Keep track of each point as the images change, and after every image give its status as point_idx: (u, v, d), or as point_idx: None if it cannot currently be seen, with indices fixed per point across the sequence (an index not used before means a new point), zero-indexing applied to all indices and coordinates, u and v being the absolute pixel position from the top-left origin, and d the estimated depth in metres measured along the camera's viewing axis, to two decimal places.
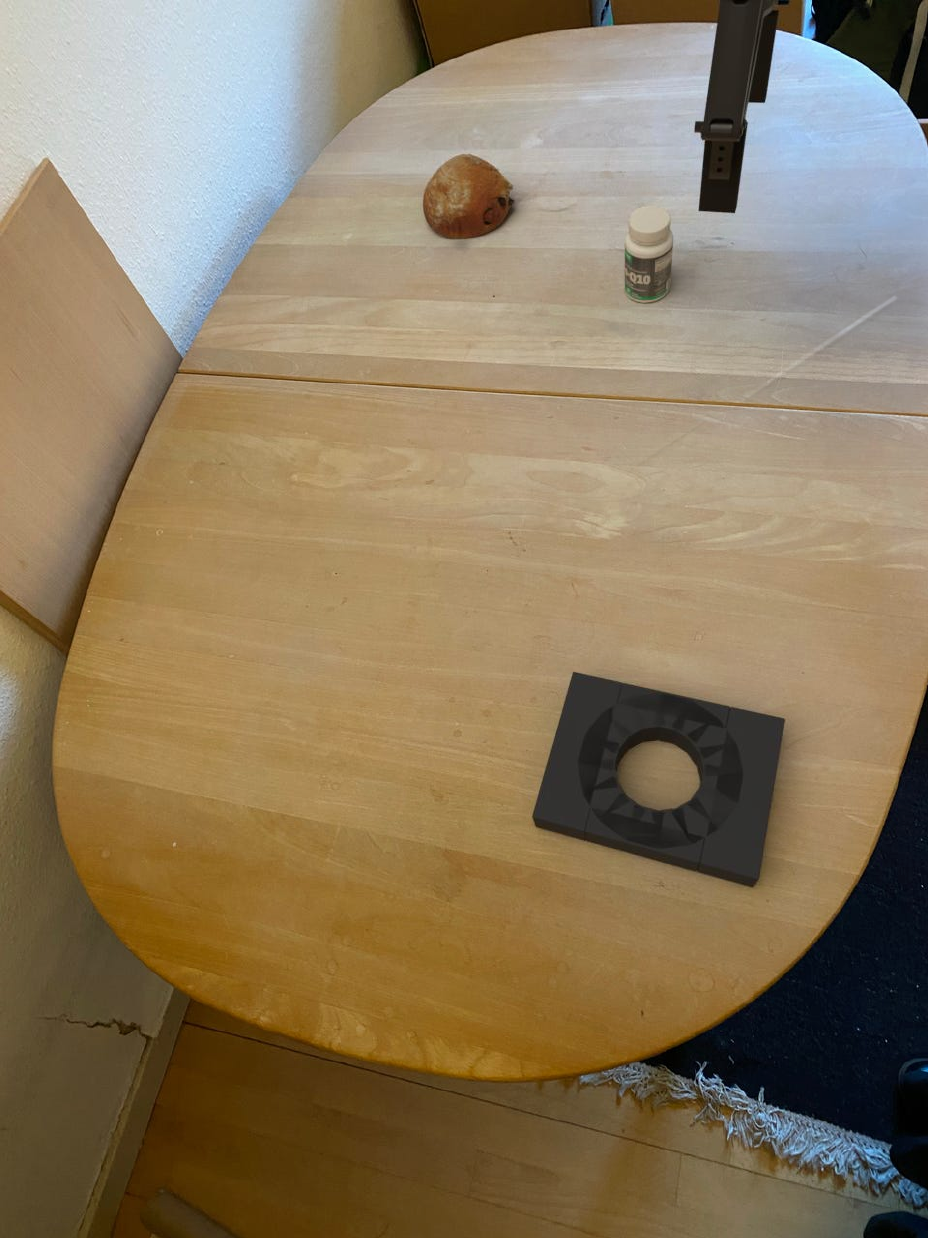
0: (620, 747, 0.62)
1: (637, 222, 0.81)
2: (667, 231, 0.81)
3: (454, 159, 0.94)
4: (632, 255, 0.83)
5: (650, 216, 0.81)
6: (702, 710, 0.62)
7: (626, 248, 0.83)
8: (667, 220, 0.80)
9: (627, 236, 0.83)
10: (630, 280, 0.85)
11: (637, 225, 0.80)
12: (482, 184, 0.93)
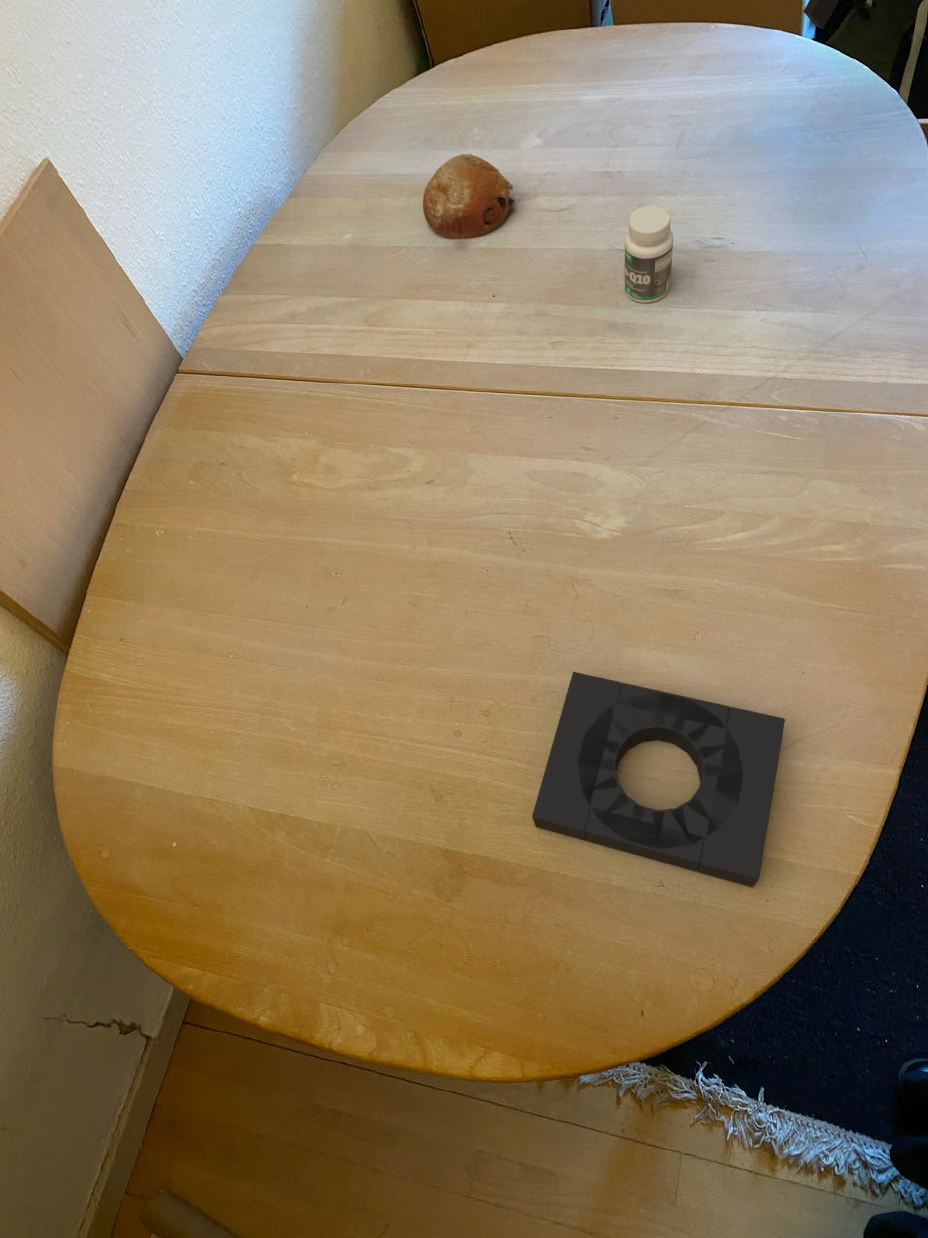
0: (620, 747, 0.62)
1: (637, 221, 0.81)
2: (667, 231, 0.81)
3: (454, 159, 0.94)
4: (632, 255, 0.83)
5: (650, 216, 0.81)
6: (702, 710, 0.62)
7: (626, 248, 0.83)
8: (667, 220, 0.80)
9: (627, 236, 0.83)
10: (630, 280, 0.85)
11: (637, 225, 0.80)
12: (482, 184, 0.93)
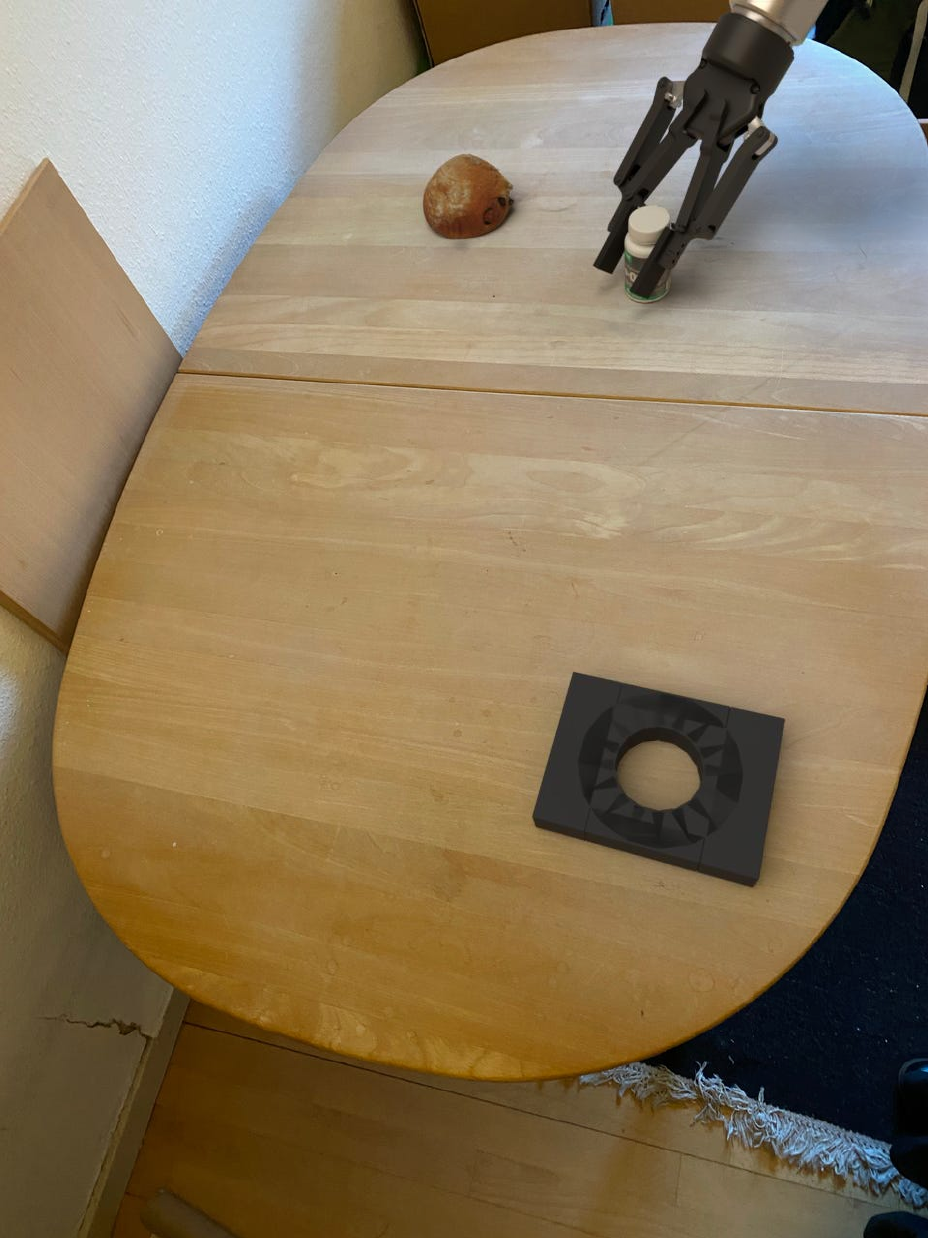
0: (620, 747, 0.62)
1: (637, 221, 0.81)
2: None
3: (454, 159, 0.94)
4: (631, 254, 0.83)
5: (650, 216, 0.81)
6: (702, 710, 0.62)
7: (626, 248, 0.83)
8: (667, 220, 0.80)
9: (627, 236, 0.83)
10: (630, 280, 0.85)
11: (637, 225, 0.80)
12: (482, 184, 0.93)
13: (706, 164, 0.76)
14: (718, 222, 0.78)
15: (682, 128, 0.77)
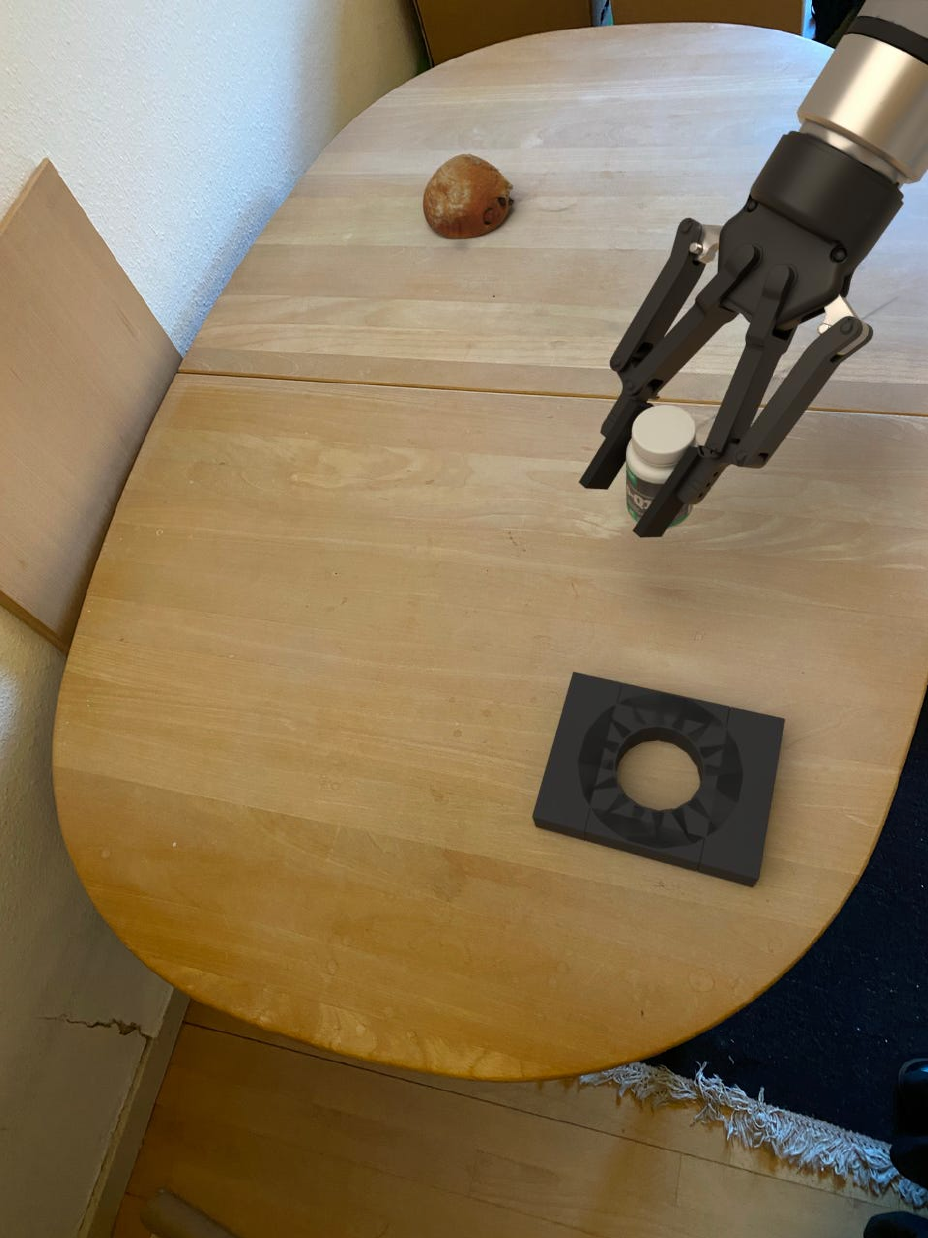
0: (620, 747, 0.62)
1: (645, 433, 0.53)
2: None
3: (454, 159, 0.94)
4: (636, 476, 0.55)
5: (665, 424, 0.53)
6: (702, 710, 0.62)
7: (628, 465, 0.55)
8: (691, 433, 0.52)
9: (630, 447, 0.55)
10: (635, 503, 0.57)
11: (645, 440, 0.52)
12: (482, 184, 0.93)
13: (755, 362, 0.48)
14: (772, 447, 0.50)
15: (717, 302, 0.49)
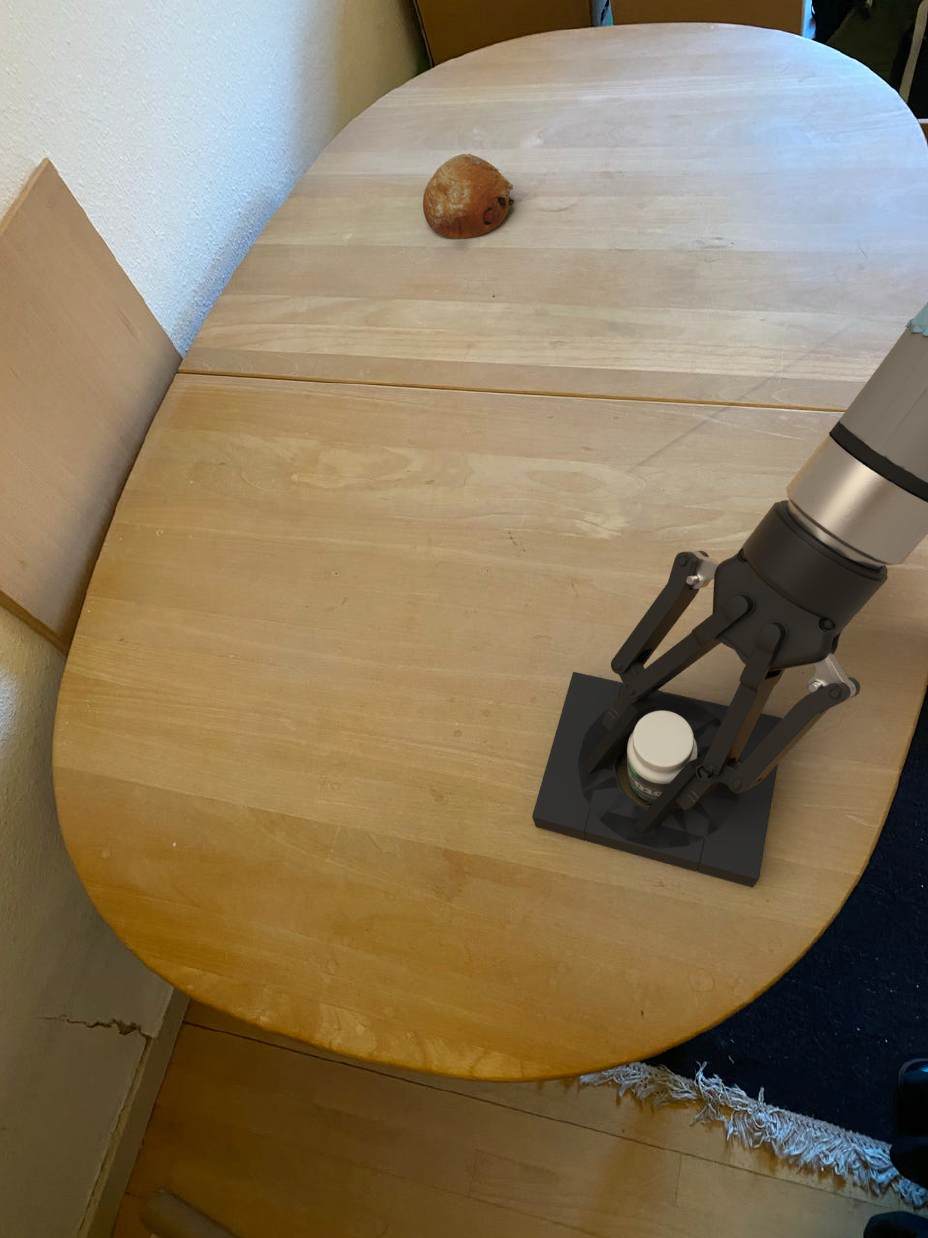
0: None
1: (645, 742, 0.55)
2: (689, 757, 0.55)
3: (454, 159, 0.94)
4: (637, 773, 0.57)
5: (664, 733, 0.56)
6: (702, 710, 0.62)
7: (629, 761, 0.58)
8: (689, 745, 0.55)
9: (631, 744, 0.58)
10: (636, 785, 0.60)
11: (645, 750, 0.55)
12: (482, 184, 0.93)
13: (749, 702, 0.51)
14: (766, 773, 0.52)
15: (713, 639, 0.52)
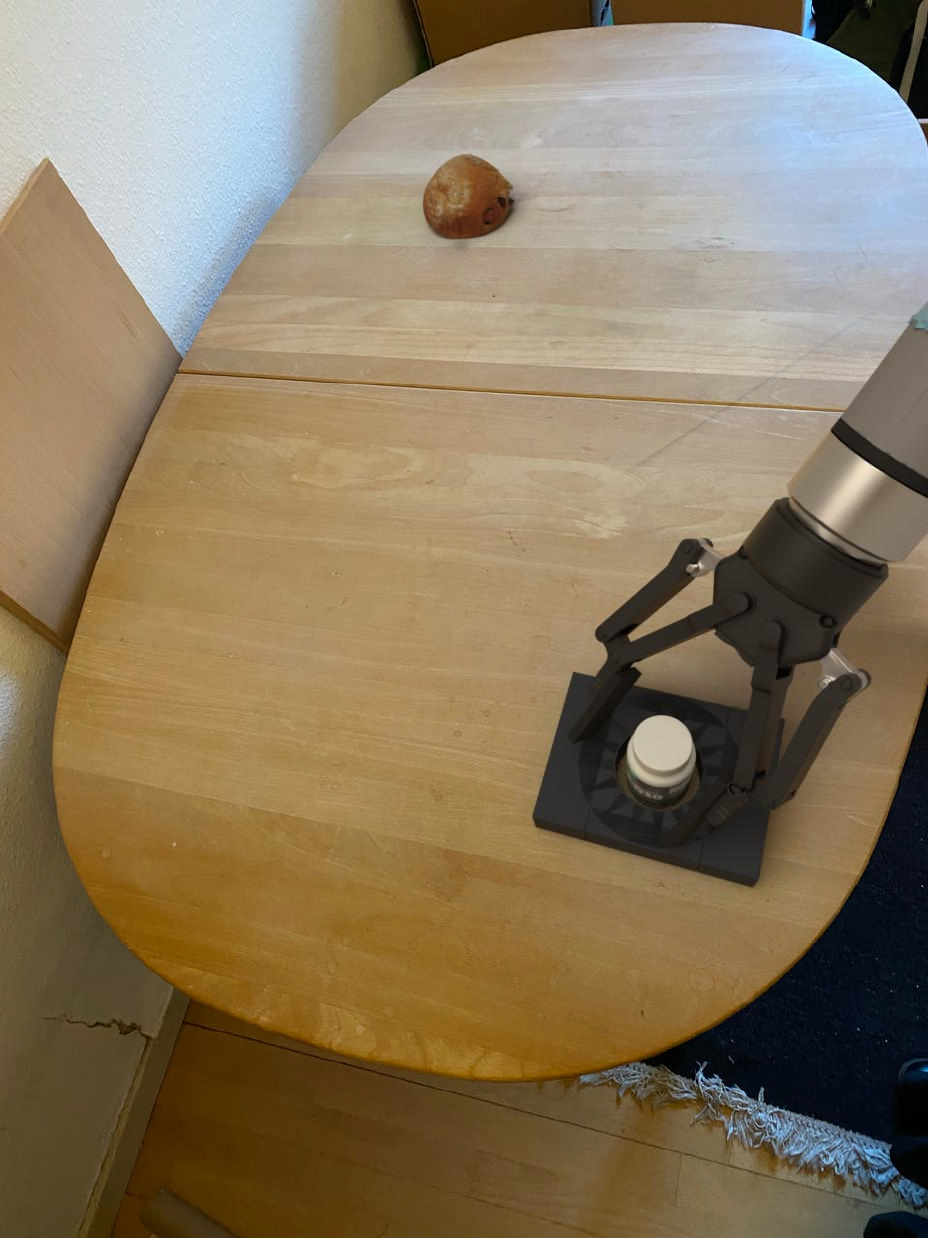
0: (620, 747, 0.62)
1: (645, 746, 0.56)
2: (688, 761, 0.56)
3: (454, 159, 0.94)
4: (637, 777, 0.58)
5: (663, 738, 0.56)
6: (702, 710, 0.62)
7: (629, 765, 0.59)
8: (688, 750, 0.56)
9: (630, 748, 0.59)
10: (635, 789, 0.61)
11: (645, 754, 0.56)
12: (482, 184, 0.93)
13: (766, 706, 0.50)
14: (798, 784, 0.51)
15: (706, 628, 0.52)
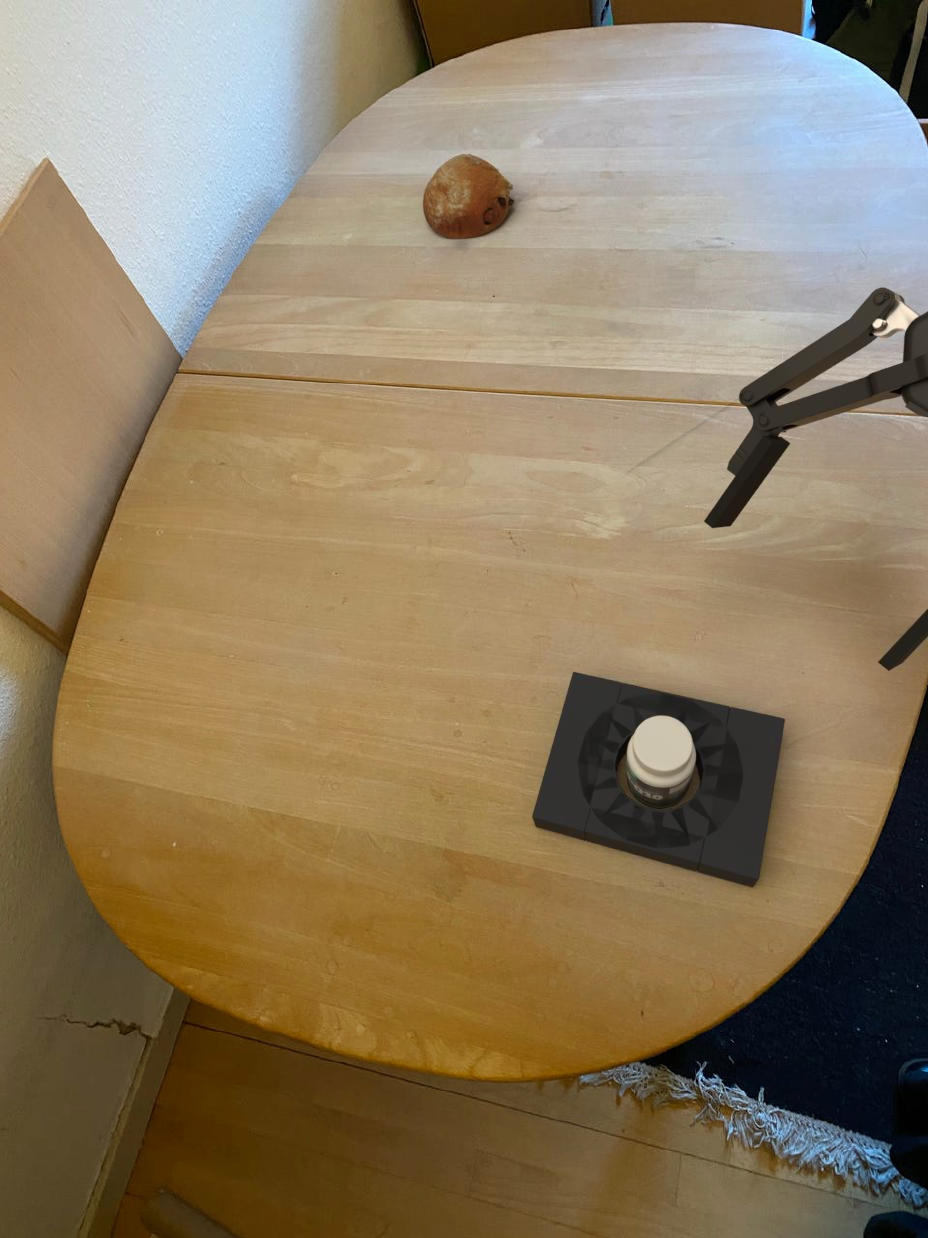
0: (620, 747, 0.62)
1: (645, 747, 0.56)
2: (688, 762, 0.56)
3: (454, 159, 0.94)
4: (637, 777, 0.58)
5: (663, 738, 0.56)
6: (702, 710, 0.62)
7: (629, 765, 0.59)
8: (688, 750, 0.56)
9: (630, 748, 0.58)
10: (635, 789, 0.61)
11: (645, 755, 0.56)
12: (482, 184, 0.93)
13: None
14: None
15: (890, 390, 0.46)
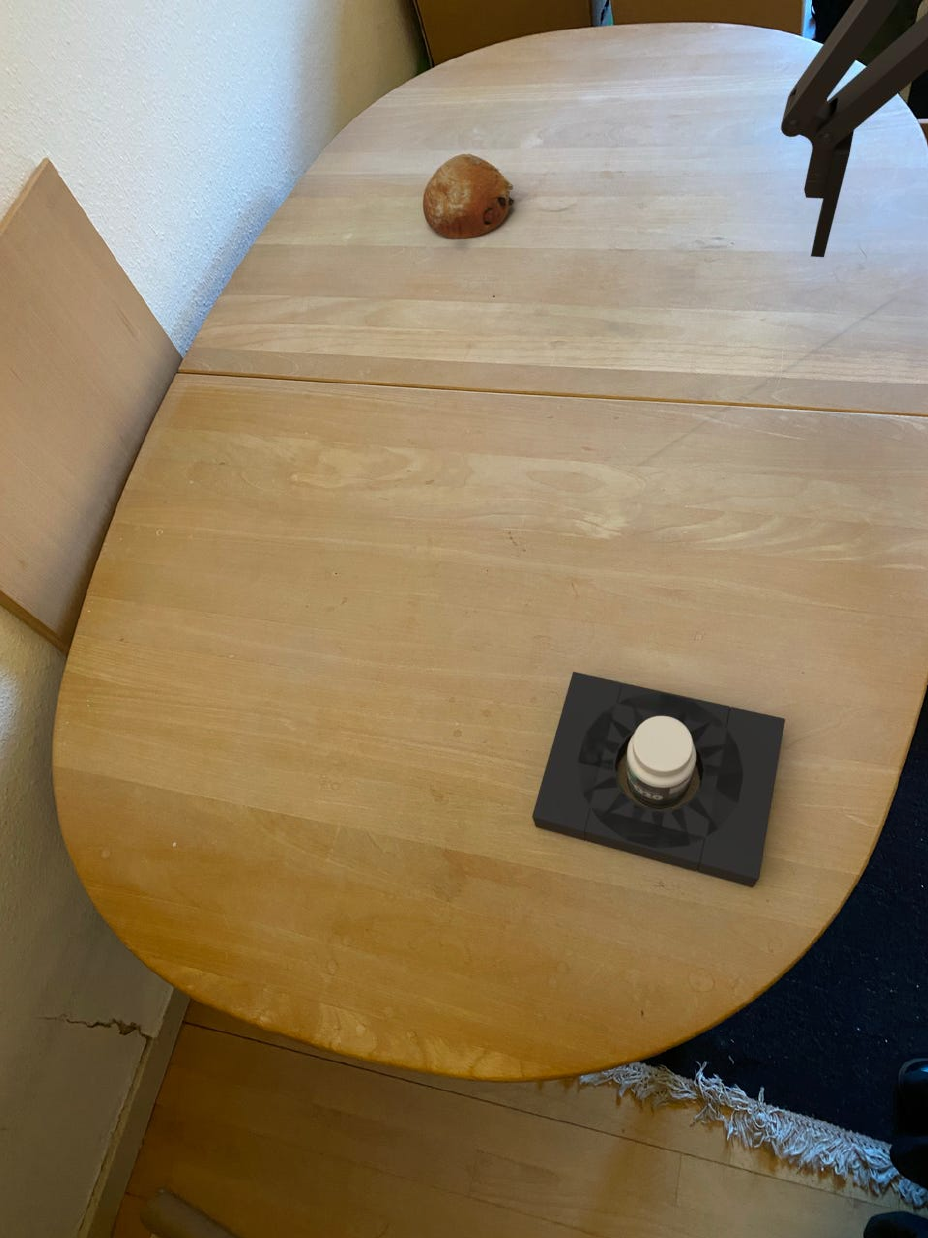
0: (620, 747, 0.62)
1: (645, 747, 0.56)
2: (688, 762, 0.56)
3: (454, 159, 0.94)
4: (637, 777, 0.58)
5: (664, 738, 0.56)
6: (702, 710, 0.62)
7: (629, 765, 0.59)
8: (688, 750, 0.56)
9: (630, 748, 0.58)
10: (635, 789, 0.61)
11: (645, 755, 0.56)
12: (482, 184, 0.93)
13: None
14: None
15: None
